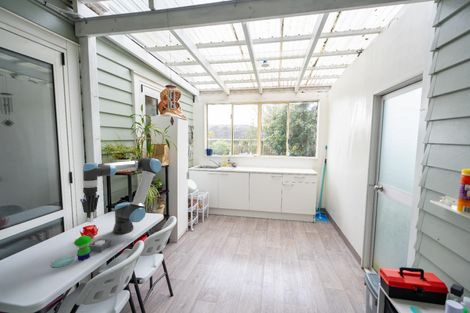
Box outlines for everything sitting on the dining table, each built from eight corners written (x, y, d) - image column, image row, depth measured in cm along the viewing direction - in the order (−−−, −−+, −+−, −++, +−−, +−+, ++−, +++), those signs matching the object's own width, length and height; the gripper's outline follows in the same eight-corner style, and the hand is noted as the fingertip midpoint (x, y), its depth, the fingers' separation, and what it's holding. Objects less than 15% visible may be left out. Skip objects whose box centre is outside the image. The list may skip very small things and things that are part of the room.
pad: (72, 254, 127) (72, 254, 127) (76, 261, 121) (76, 260, 121) (49, 262, 119) (49, 262, 119) (52, 270, 112) (52, 269, 112)
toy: (91, 253, 129) (90, 231, 129) (93, 258, 123) (92, 236, 122) (73, 258, 123) (73, 235, 122) (75, 264, 117) (74, 240, 116)
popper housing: (99, 243, 142) (99, 238, 142) (111, 244, 141) (111, 239, 140) (87, 251, 132) (87, 245, 132) (100, 252, 131) (100, 246, 130)
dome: (99, 243, 139) (99, 239, 139) (107, 244, 139) (107, 240, 139) (92, 248, 134) (92, 244, 133) (100, 248, 133) (100, 244, 133)
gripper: (93, 184, 134) (93, 218, 135) (76, 188, 121) (76, 225, 122) (103, 185, 133) (103, 218, 134) (87, 188, 120) (87, 226, 121)
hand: (90, 221), depth 128 cm, fingers closed
